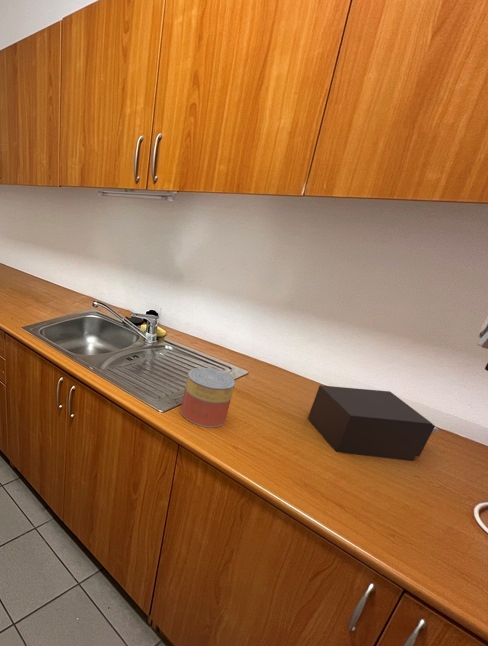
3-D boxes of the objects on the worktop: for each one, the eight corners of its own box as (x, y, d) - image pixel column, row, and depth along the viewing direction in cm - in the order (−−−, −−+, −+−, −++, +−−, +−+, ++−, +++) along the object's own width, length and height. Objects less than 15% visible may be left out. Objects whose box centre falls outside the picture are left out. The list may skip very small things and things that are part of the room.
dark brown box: (375, 425, 104) (390, 391, 100) (413, 461, 92) (432, 423, 88) (307, 418, 107) (319, 385, 103) (335, 451, 95) (350, 415, 91)
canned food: (234, 419, 107) (245, 381, 103) (207, 432, 102) (217, 393, 98) (197, 399, 116) (205, 363, 112) (171, 410, 112) (178, 373, 107)
